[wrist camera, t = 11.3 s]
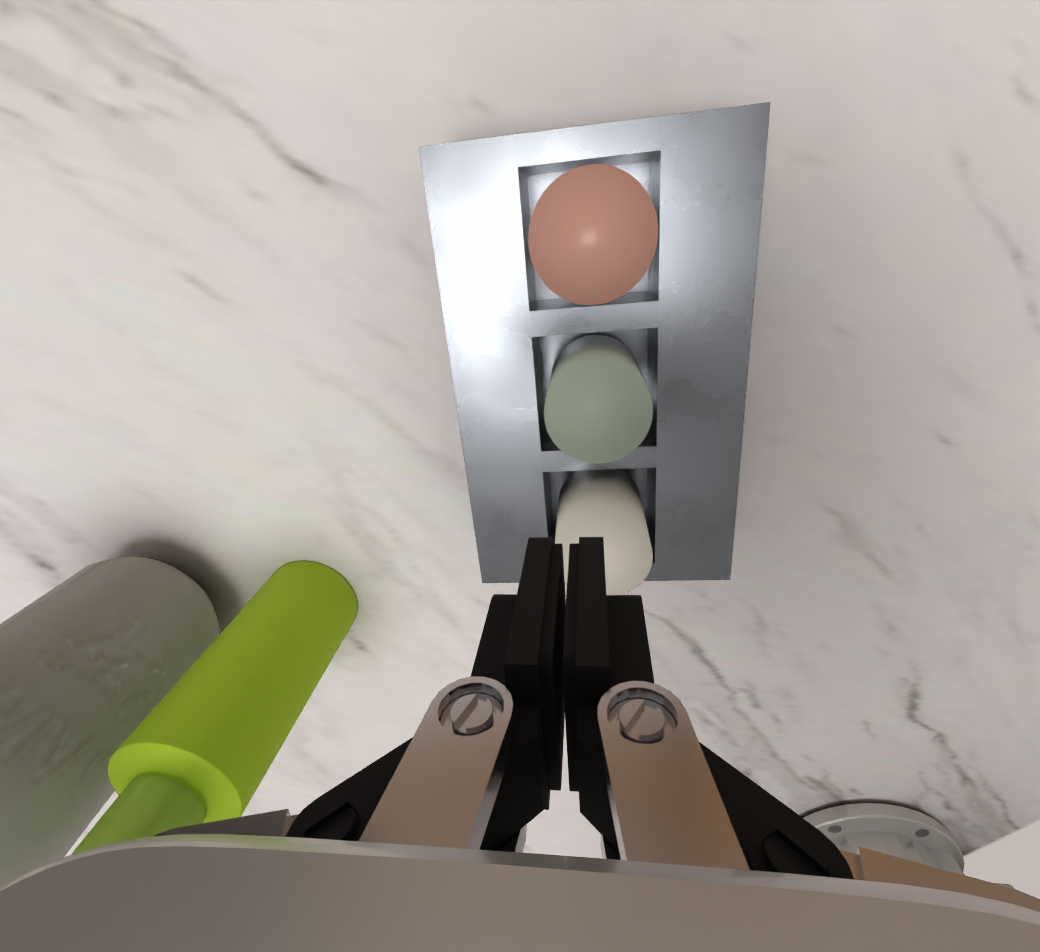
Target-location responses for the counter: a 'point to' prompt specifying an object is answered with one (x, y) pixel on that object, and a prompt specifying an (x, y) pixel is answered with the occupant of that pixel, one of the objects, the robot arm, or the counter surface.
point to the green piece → (597, 401)
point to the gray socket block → (604, 326)
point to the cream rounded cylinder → (606, 524)
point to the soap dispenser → (229, 709)
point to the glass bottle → (85, 694)
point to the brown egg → (593, 234)
